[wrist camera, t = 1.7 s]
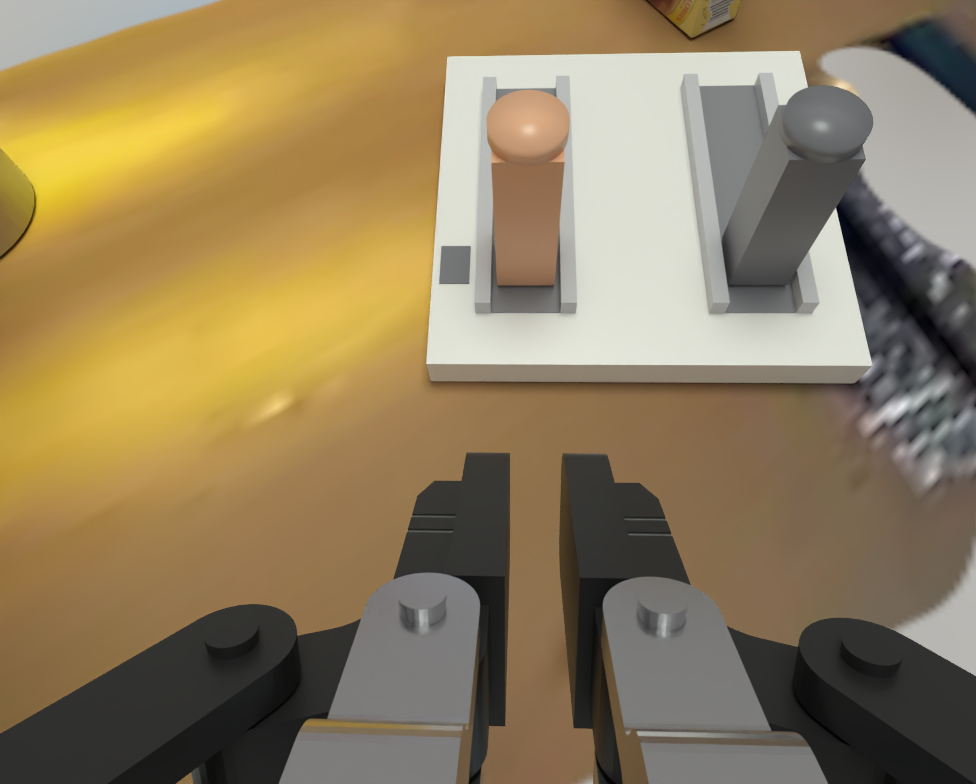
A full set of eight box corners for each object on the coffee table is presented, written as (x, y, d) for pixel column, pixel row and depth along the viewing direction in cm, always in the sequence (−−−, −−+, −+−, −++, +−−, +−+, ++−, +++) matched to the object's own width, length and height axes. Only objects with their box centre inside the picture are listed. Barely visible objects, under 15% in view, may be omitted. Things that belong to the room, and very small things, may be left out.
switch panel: (854, 383, 36) (881, 356, 33) (430, 381, 37) (423, 354, 35) (788, 77, 45) (805, 36, 43) (450, 82, 46) (446, 42, 44)
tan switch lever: (558, 288, 37) (571, 151, 28) (493, 288, 37) (485, 152, 28) (557, 235, 38) (568, 89, 29) (494, 235, 38) (487, 90, 29)
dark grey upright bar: (791, 288, 36) (881, 148, 27) (725, 288, 36) (792, 149, 27) (782, 234, 38) (863, 84, 29) (717, 235, 38) (779, 86, 29)
